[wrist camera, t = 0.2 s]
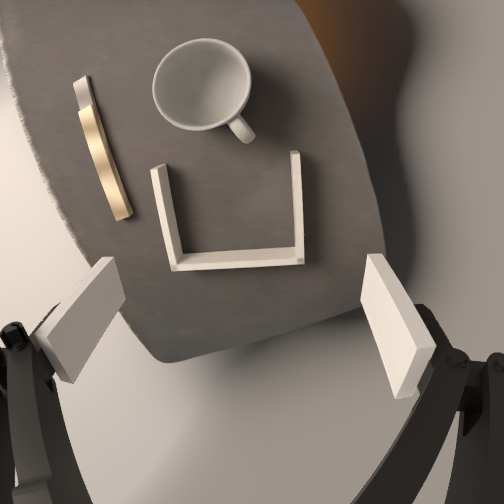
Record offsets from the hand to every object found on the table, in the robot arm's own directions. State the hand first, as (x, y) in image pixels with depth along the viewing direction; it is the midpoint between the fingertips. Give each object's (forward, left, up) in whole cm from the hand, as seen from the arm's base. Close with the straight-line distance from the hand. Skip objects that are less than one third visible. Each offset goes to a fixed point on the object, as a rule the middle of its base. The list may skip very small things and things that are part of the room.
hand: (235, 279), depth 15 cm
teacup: (-10, -4, -28) cm, 30 cm away
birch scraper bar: (-7, -23, -28) cm, 36 cm away
